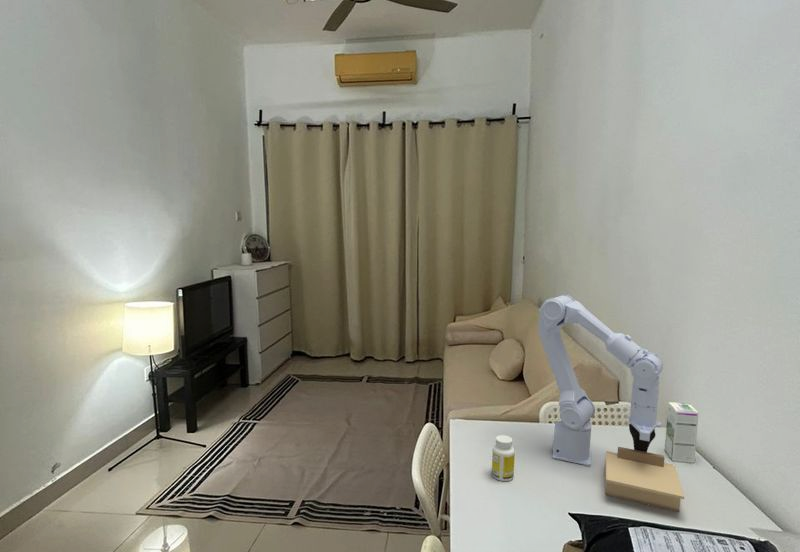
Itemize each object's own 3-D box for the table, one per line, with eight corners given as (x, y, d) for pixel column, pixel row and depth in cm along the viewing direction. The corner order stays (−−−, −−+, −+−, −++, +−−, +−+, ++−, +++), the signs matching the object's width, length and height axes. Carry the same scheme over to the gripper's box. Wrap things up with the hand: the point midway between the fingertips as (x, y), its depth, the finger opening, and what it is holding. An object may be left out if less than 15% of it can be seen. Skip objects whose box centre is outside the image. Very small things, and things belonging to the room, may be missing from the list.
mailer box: (605, 494, 106) (606, 476, 106) (604, 467, 118) (606, 450, 117) (679, 511, 100) (681, 493, 100) (671, 481, 112) (672, 464, 111)
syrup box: (695, 463, 120) (700, 411, 119) (670, 461, 122) (675, 409, 120) (686, 453, 126) (691, 403, 124) (663, 450, 127) (667, 401, 125)
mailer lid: (606, 481, 103) (607, 469, 103) (605, 454, 115) (606, 443, 115) (683, 499, 97) (685, 486, 96) (675, 468, 109) (676, 457, 108)
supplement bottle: (515, 473, 115) (517, 436, 114) (511, 484, 110) (513, 446, 109) (494, 467, 117) (495, 432, 116) (489, 478, 112) (490, 441, 111)
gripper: (666, 418, 103) (661, 474, 104) (659, 395, 116) (654, 445, 117) (632, 412, 105) (627, 467, 107) (628, 391, 119) (624, 440, 120)
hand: (639, 455), depth 112 cm, fingers closed
